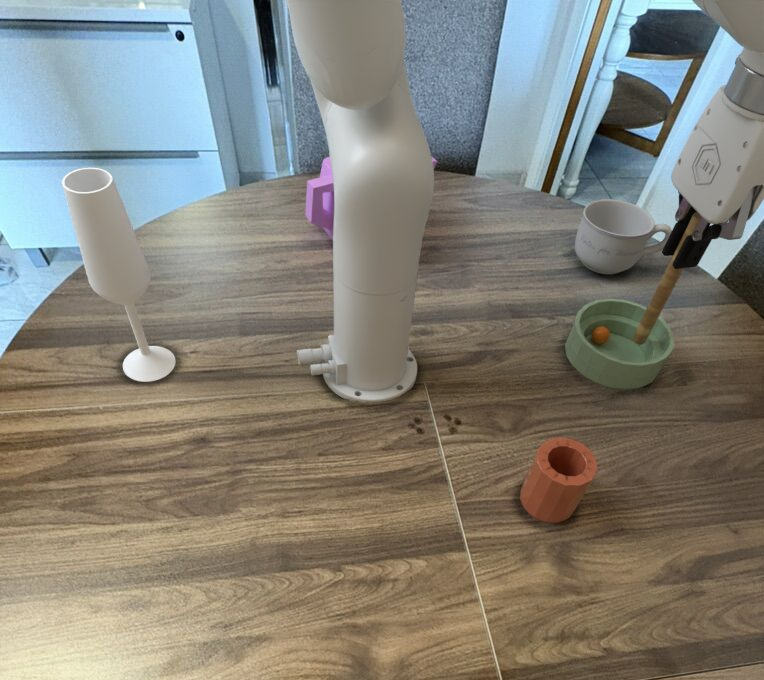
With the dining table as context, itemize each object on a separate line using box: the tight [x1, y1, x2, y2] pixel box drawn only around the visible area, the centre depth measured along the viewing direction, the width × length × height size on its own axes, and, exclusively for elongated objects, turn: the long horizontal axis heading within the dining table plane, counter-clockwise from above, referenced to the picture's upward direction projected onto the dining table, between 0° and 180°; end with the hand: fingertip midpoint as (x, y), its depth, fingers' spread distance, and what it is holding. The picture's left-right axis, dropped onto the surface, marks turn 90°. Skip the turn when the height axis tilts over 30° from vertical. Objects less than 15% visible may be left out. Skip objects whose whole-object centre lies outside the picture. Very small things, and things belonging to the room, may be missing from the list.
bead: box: [592, 326, 610, 344], centre depth 86 cm, size 2×2×2 cm
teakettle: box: [304, 155, 438, 242], centre depth 95 cm, size 17×17×12 cm
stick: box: [632, 212, 702, 345], centre depth 77 cm, size 2×2×18 cm
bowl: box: [564, 297, 676, 390], centre depth 84 cm, size 13×13×5 cm
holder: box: [519, 437, 598, 524], centre depth 68 cm, size 6×6×8 cm
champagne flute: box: [61, 167, 176, 383], centre depth 70 cm, size 7×7×24 cm
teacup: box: [574, 198, 673, 275], centre depth 95 cm, size 14×11×8 cm
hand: (679, 259), depth 74 cm, fingers closed on stick, 1 cm apart
